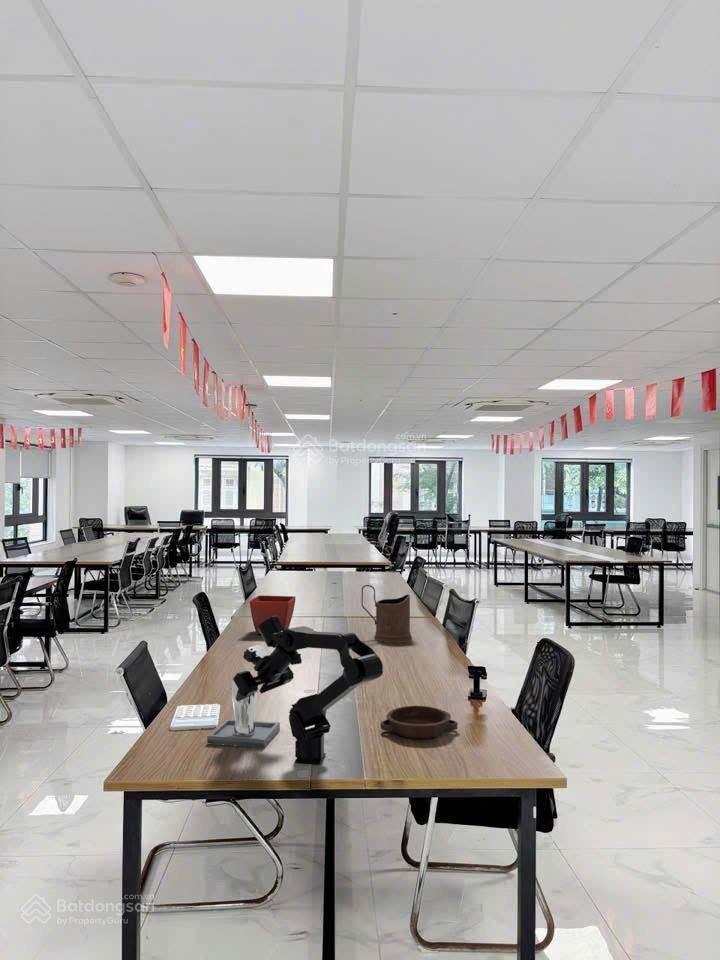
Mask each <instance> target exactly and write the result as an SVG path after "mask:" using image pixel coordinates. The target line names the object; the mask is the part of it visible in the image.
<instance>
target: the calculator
mask: <svg viewBox="0 0 720 960" xmlns="http://www.w3.org/2000/svg"><path fill="white" fill-rule="evenodd" d="M220 711H221V705H220V703H219V704H218V703H213V704H210V703H209V704H187V705H178V706H177V707H176V709H175V713H174V715H173V716H172V717H173V718H172V720H171V724H170V725H169V730H170V731H190V730H189V729H195V730H202V729H201V728H214V727H218V726H219V725H218V724H219V720H218V719H220V713H221V712H220ZM217 725H218V726H217ZM214 729H215V728H214Z"/></svg>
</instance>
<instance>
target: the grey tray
mask: <svg viewBox="0 0 720 960" xmlns="http://www.w3.org/2000/svg"><path fill="white" fill-rule="evenodd" d="M254 724H255V730H256V732H255V734H253V735H251V736H245V737H240V736H236V735H234V733H233V731H234V726H235V719H231V718H230V719H229V718H228V719H227V718H226V719H225V720H224V721H223V722H222V723H220V724H219V725H218V726H217V728H214V729H213V730H212V731H211V732H210V733H209V734H208V735H207V737H206V741H207V742H206V744H207V743H211V744H210V745H213V744H224V745H223V746H227V745H236V746H235V747H241V746H245V747H246V748H258V749H265V748H266V747H267V745H268V744H270V742H271V741H273V739H274V738H275V736H277V735H278V733H280V731H281V730H280V729H281V722H274V721H259V720H254ZM273 737H274V738H273ZM245 747H244V748H245Z"/></svg>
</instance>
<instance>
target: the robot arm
mask: <svg viewBox="0 0 720 960" xmlns="http://www.w3.org/2000/svg"><path fill="white" fill-rule="evenodd" d="M258 630H259V632H260V634H261V635H260V636H261V637H262V639H263V641H264V642H265V644H266V647H267V648H273V651H272V652H270V651H268V650H267V648H265V647H264V646H262V645H260V644H257V645H253V646H250V647H248V648H247V649H246V650H244V652H243V656H242V657H243V659H244V660H245V661H246V662H248V663H251V664H252V665H254V666H253V670H254V671H255V672H256V673H257V676H255V677H253V676H254V675H252V673H251V672H250V670H244V671H240V672H237V673H236V674H235V675H234V676H233V678H232V681H233V680H234V682H235V684H236V685H237V687H238V691H237V695H236V700H237V702H238V701H240V700H243V699H245V698H247V697H249V696H252V695H254V693H255V692H256V691H257V692H258V691H259V693H260V694H261V695H262V694H264V693H266V692H269V691H272V690H273V689H277V688H279V687H281V686H285V685H286V684H288V683H291V682H292V681H293V679H294V677H295V676H294V675H295V674H294V672H293V670H292V669H291V668H290V665H291V666H294V665H301V664H302V663H303V660H302V656H301V655H302V654H301V653H299V652H298V650H304V649H309V648H311V649H321V650H323V649H326V650H336V651H337V652H338V654H339V659H340V660H339V661H340V665H341V666H342V668H343V670H342V675H340V676H339V677H338V678H337V679H335V680H334V681H333V682H331V683H330V684H329V685H328V686H327V687H325V688H324V689H323V690H322V691H320V692H319V693H315V694H310V695H308V696H303V697H301V698H299V699H298V700H297V701H296V702H295V703H293V704H291V708H290V709H289V712H288V713H289V715H288V722H289V727H290V731H291V736H292V737H294V739H295V741H294V743H295V747H294V749H295V750H294V751H295V753H294V756H295V757H294V758H295V763H299V764H300V763H301V764H313V765H320V764H321V763H322V762H323V761H324V759H325V757H326V756H327V755H326V754H327V753H326V752H325V734H327V733H329V732H330V730H331V724H330V722H329V720H328V718H327V716H326V715H327V711H328V710H329V709H330V708H331V707H333V706H334V705H336V704H337V703H338V702H339V701H340V700H342V699H343V698H344V697H345V696H347V695H348V694H350V693H351V692H352V691H354V690H355V689H356V688H358V687H360V686H361V685H365V684H366V683H369V682H371V681H374V680H376V679H379V678H381V677H382V675H383V673H384V671H383V670H384V667H383V666H384V665H383V662H382V660H381V658H380V656H378V654H377V653H376V652H375V650H374V649H373V647H371V646H369V645H368V644H366V643H365V642H364V641H362V640H360V638H359V637H358V636H357V634H356V633H355V632H351V631H349V632H338V631H337V632H331V631H316V630H314V629H313V628H312V627H308V626H306V625H303V626H302V625H301V626H295V627H292V628H290V627H289V629H285V630H284V628H283V626H282V625H281V623H280V621H279V618H278V616H271V617H270V619H268V620H266V621H264V622H263V623H262V624H260V625H259V627H258ZM350 650H351V651H352V652H353V653H355V654H356V655H358V656H357V657H352V656H351V654H350ZM259 686H260V689H259Z"/></svg>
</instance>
